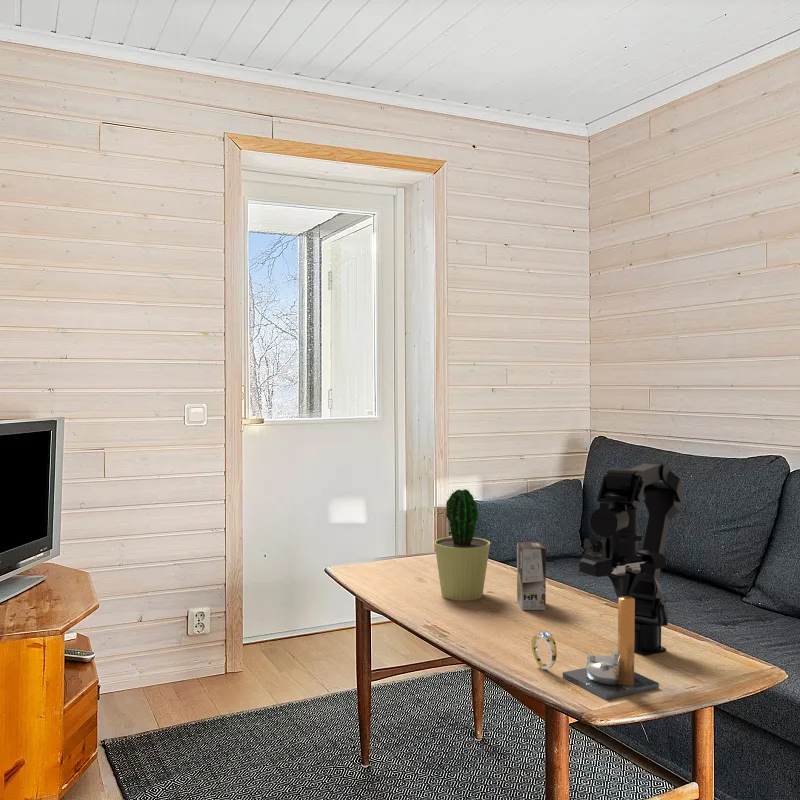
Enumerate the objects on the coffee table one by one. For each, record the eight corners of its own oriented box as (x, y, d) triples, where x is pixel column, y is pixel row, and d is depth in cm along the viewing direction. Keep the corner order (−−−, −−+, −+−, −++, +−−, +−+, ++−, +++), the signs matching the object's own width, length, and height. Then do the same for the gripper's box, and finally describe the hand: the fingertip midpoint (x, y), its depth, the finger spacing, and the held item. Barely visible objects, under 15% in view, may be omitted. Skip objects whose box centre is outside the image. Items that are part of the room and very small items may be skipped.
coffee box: (546, 610, 211) (546, 548, 210) (521, 610, 211) (521, 548, 210) (540, 600, 220) (540, 541, 219) (516, 600, 220) (516, 541, 219)
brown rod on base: (578, 670, 164) (579, 586, 163) (618, 666, 166) (619, 583, 166) (608, 692, 152) (608, 602, 152) (651, 687, 154) (651, 598, 154)
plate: (613, 667, 169) (613, 661, 169) (658, 688, 158) (658, 682, 158) (562, 677, 163) (562, 671, 163) (606, 700, 152) (606, 694, 152)
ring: (559, 673, 165) (560, 634, 165) (546, 675, 164) (546, 636, 164) (541, 662, 172) (541, 625, 172) (528, 664, 171) (528, 626, 171)
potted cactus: (489, 588, 232) (490, 483, 232) (490, 603, 217) (490, 491, 216) (435, 587, 234) (435, 483, 233) (432, 602, 219) (432, 490, 218)
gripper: (630, 519, 180) (629, 590, 181) (562, 526, 172) (562, 600, 172) (667, 528, 170) (667, 602, 171) (597, 535, 162) (597, 613, 162)
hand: (622, 604), depth 169 cm, fingers closed
